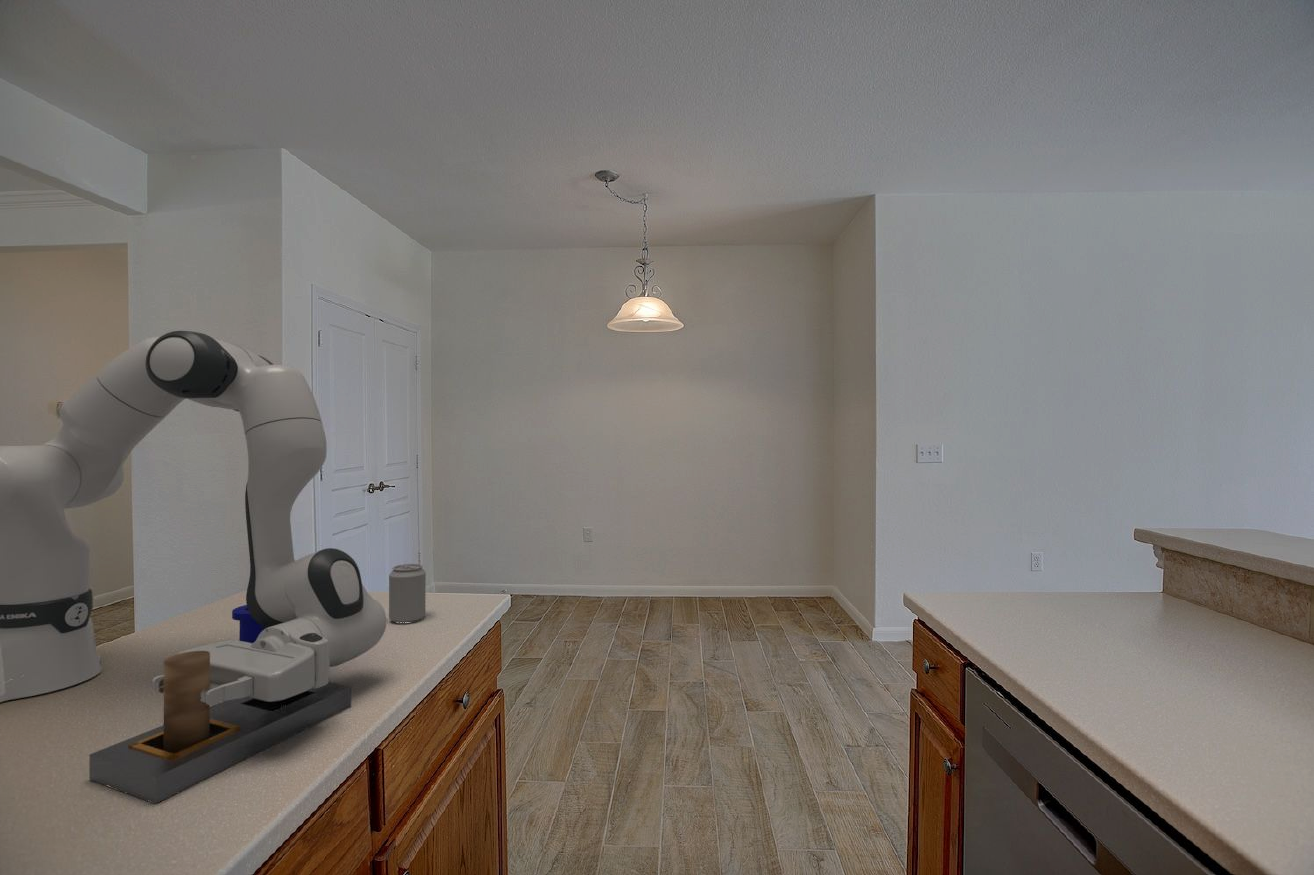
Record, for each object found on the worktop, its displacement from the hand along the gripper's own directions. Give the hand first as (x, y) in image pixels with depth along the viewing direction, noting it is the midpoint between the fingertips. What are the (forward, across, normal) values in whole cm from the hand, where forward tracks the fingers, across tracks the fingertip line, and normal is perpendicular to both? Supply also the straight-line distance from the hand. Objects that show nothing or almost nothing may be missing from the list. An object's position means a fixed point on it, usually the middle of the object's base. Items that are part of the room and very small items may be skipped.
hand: (179, 692), depth 73 cm
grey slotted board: (-7, 0, +9) cm, 11 cm away
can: (-56, -18, +9) cm, 59 cm away
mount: (-29, -28, +10) cm, 42 cm away
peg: (-1, 0, +9) cm, 9 cm away
